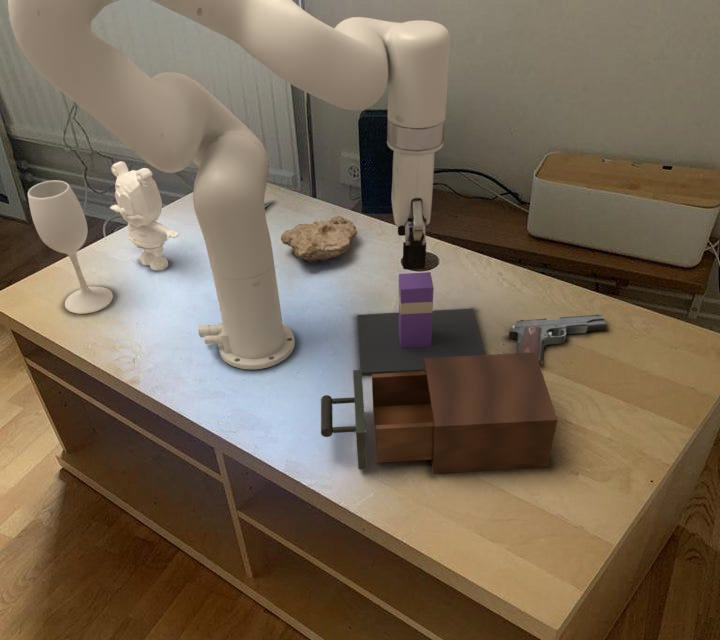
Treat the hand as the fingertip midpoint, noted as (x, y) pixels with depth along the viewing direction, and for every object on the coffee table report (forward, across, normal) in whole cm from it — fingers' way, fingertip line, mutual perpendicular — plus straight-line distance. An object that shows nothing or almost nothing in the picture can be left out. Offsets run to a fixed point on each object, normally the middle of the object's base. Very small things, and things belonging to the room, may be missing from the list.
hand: (410, 250), depth 108 cm
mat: (+17, 0, +2) cm, 17 cm away
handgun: (+16, +1, +23) cm, 28 cm away
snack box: (+16, 0, +1) cm, 16 cm away
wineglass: (+18, -18, -57) cm, 62 cm away
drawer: (+16, +23, -4) cm, 28 cm away
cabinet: (+16, +23, +9) cm, 30 cm away
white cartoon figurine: (+18, -30, -47) cm, 59 cm away
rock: (+17, -31, -14) cm, 38 cm away
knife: (+18, -46, -30) cm, 58 cm away
